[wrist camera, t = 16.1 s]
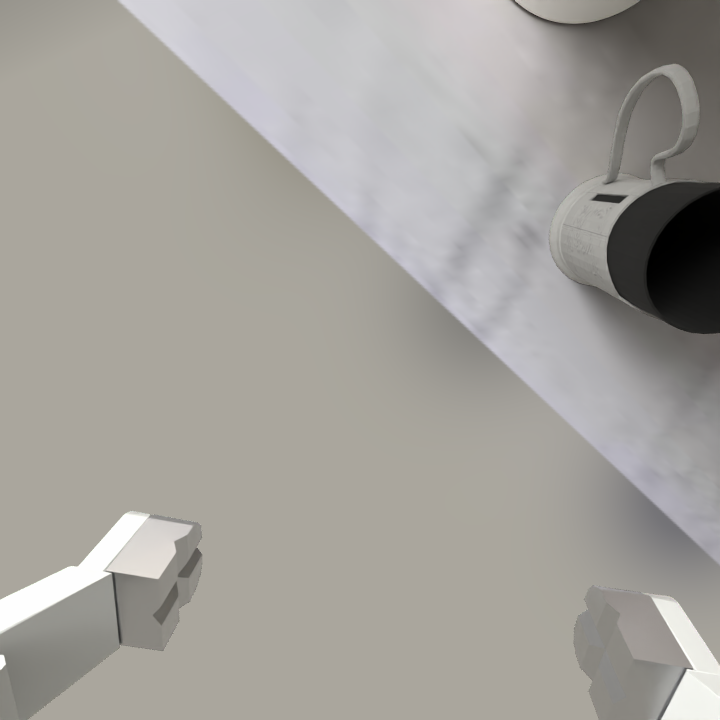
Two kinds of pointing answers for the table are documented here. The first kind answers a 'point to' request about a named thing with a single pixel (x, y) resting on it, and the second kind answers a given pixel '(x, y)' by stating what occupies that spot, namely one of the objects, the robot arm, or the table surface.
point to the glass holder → (647, 228)
